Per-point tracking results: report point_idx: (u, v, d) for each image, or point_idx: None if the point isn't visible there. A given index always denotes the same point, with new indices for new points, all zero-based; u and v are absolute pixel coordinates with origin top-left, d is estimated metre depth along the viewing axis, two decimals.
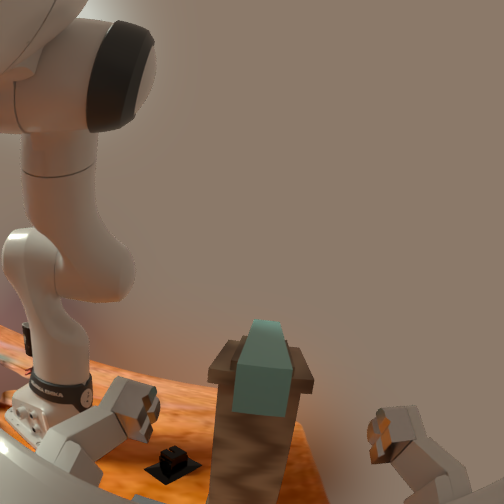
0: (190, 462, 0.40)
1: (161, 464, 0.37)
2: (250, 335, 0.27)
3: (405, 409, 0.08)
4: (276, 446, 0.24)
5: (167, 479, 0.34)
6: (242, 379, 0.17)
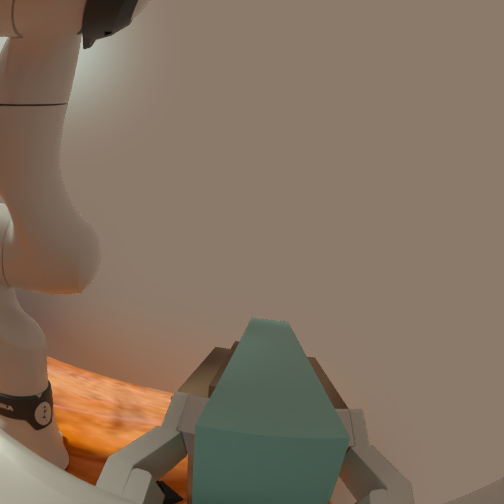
0: (169, 494, 0.29)
1: None
2: (243, 342, 0.15)
3: (348, 412, 0.08)
4: None
5: None
6: (212, 462, 0.05)
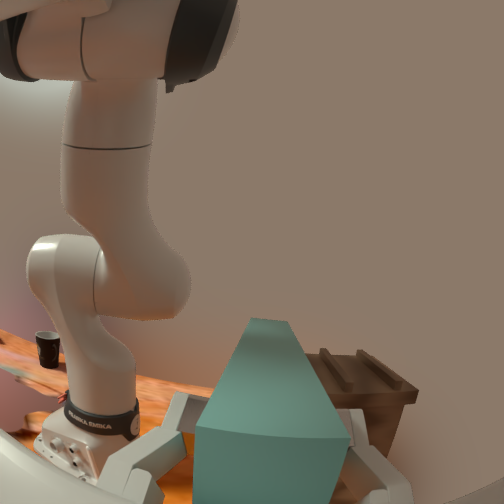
0: None
1: None
2: (242, 342, 0.15)
3: (348, 412, 0.08)
4: None
5: None
6: (212, 462, 0.05)
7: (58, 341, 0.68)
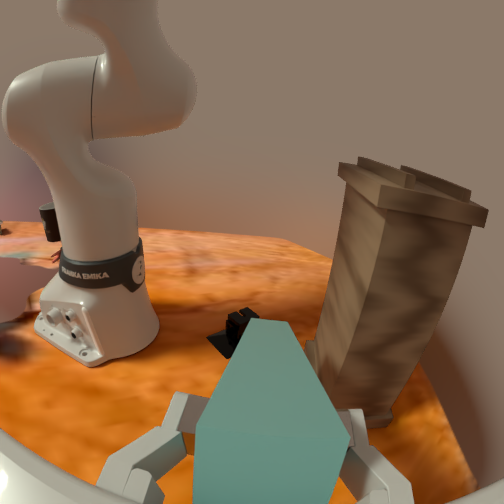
0: None
1: (227, 331, 0.41)
2: (243, 342, 0.15)
3: (348, 412, 0.08)
4: (434, 300, 0.20)
5: (230, 351, 0.39)
6: (212, 462, 0.05)
7: None
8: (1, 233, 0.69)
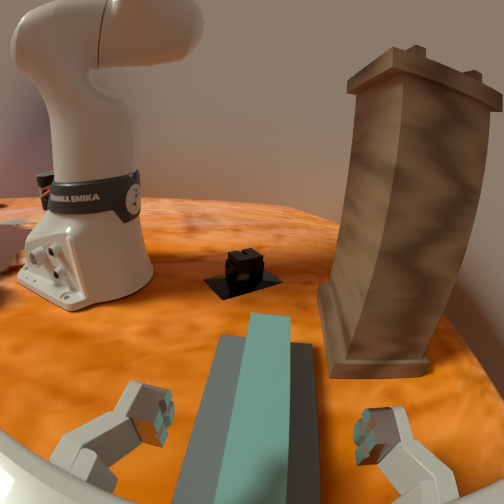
0: (268, 277, 0.40)
1: (227, 273, 0.38)
2: (232, 427, 0.14)
3: (391, 410, 0.08)
4: (468, 189, 0.16)
5: (228, 293, 0.35)
6: None
7: None
8: None
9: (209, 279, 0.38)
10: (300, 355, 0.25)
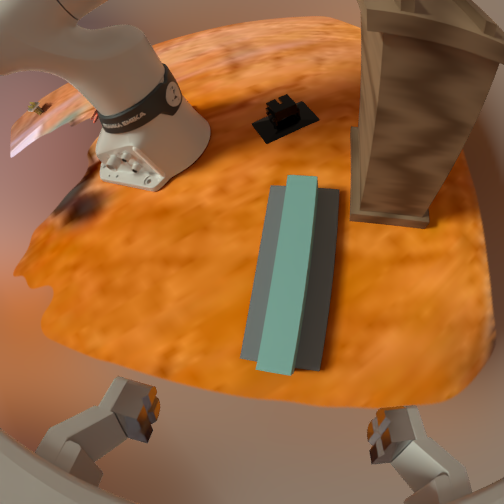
0: (307, 114, 0.41)
1: (269, 117, 0.41)
2: (274, 274, 0.30)
3: (405, 409, 0.08)
4: (457, 124, 0.15)
5: (270, 137, 0.41)
6: None
7: None
8: (42, 111, 0.72)
9: (256, 123, 0.42)
10: (329, 201, 0.35)
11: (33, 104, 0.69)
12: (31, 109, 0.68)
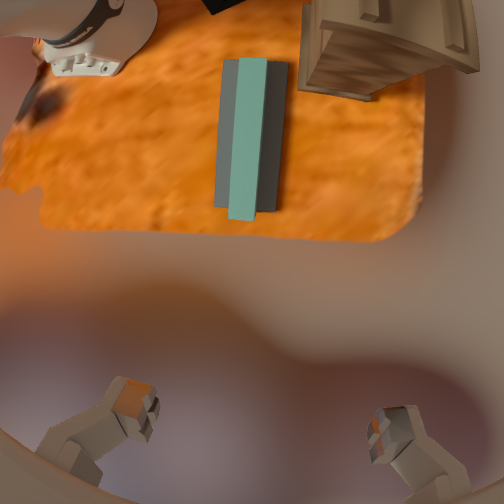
0: None
1: None
2: (234, 145, 0.35)
3: (405, 409, 0.08)
4: (398, 71, 0.17)
5: (217, 8, 0.30)
6: None
7: None
8: None
9: None
10: (279, 73, 0.33)
11: None
12: None
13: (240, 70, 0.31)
